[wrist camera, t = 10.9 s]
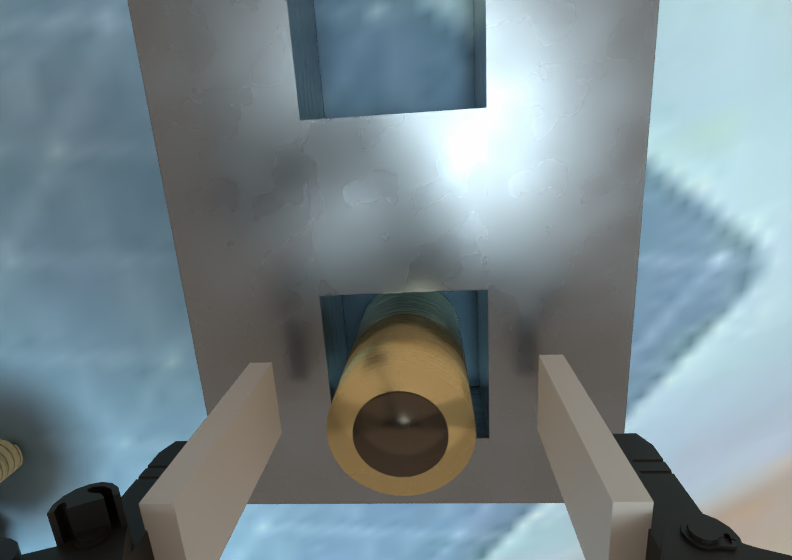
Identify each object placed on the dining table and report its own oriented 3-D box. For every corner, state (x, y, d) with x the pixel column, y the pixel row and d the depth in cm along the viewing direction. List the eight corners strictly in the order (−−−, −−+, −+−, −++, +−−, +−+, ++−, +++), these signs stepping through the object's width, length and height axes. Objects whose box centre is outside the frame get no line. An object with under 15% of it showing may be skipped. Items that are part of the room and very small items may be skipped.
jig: (162, -130, 17) (87, -205, 14) (622, -182, 16) (682, -280, 12) (256, 445, 24) (224, 504, 20) (586, 441, 23) (618, 502, 19)
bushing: (358, 284, 21) (318, 369, 14) (458, 281, 21) (476, 366, 13) (365, 374, 23) (332, 499, 15) (460, 372, 22) (477, 499, 15)
